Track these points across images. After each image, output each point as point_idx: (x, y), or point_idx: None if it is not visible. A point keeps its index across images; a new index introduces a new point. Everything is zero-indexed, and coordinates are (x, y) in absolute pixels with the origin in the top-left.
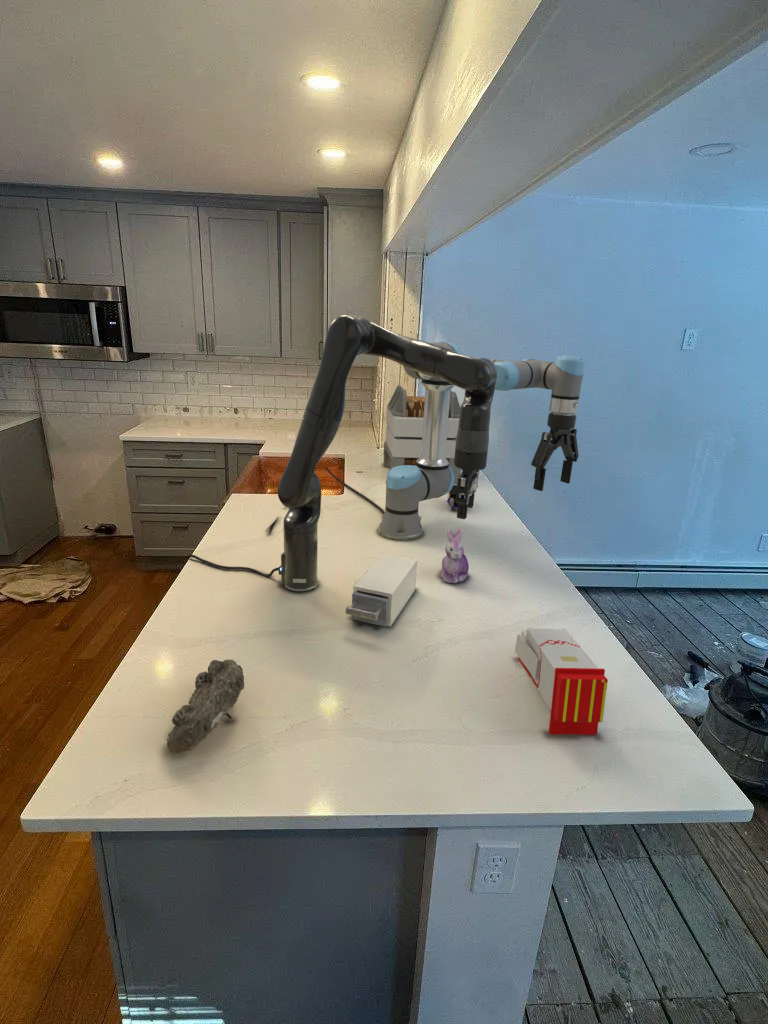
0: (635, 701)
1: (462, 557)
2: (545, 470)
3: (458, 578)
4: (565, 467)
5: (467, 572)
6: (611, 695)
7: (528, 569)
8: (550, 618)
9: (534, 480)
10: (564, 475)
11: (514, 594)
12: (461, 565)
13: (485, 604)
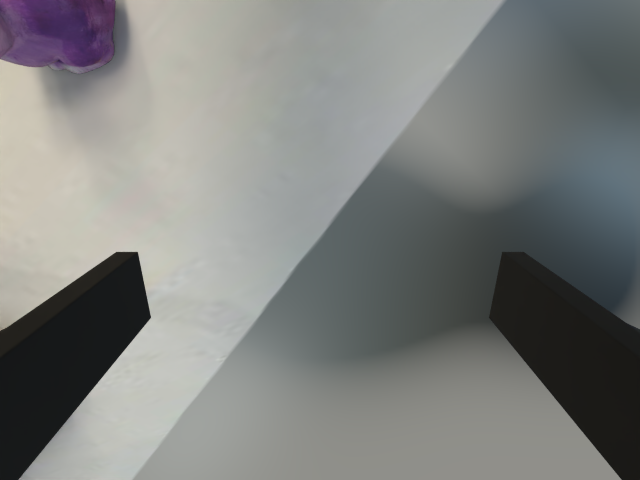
0: (100, 472)
1: (35, 42)
2: (16, 473)
3: (62, 65)
4: (589, 363)
5: (98, 62)
6: (80, 453)
7: (312, 137)
8: (159, 309)
9: (67, 286)
10: (528, 312)
11: (166, 206)
12: (34, 63)
13: (68, 196)
